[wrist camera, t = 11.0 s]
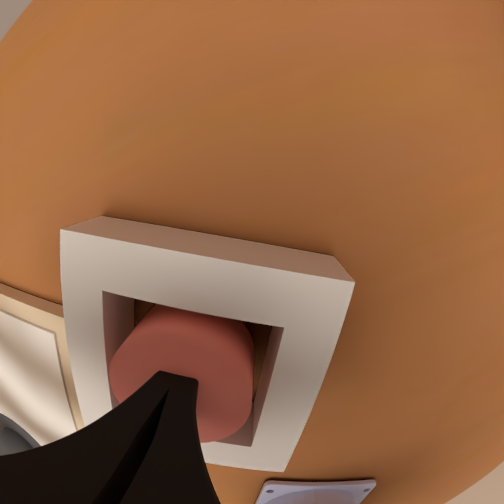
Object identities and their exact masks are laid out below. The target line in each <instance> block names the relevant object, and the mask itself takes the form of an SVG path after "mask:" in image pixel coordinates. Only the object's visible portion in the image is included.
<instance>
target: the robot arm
mask: <svg viewBox="0 0 504 504" xmlns="http://www.w3.org/2000/svg"><path fill="white" fill-rule="evenodd" d="M198 385H199V382H198V380H197V379H196V378H191V377H186V376H182V375H177V374H173V373H169V372H165V371H161V370H159V371H158V372H156V373H155V374H154V375H153V376H152V377H151V378H150V379H149V380H148V381H147V382H145V383H144V384H143V385H142V386H141V387H140V388H139V389H138V390H136V391H135V392H134V393H133V394H132V395H130V396H129V397H128V398H127V399H125V400H124V401H123V402H122V403H120V404H119V405H118V406H116V407H115V408H113V409H112V410H111V411H109V412H108V413H106V414H105V415H103V416H102V417H100V418H99V419H97V420H96V421H94V422H92V423H91V424H89V425H87V426H86V427H84V428H82V429H80V430H78V431H76V432H74V433H72V434H70V435H68V436H65V437H63V438H61V439H59V440H56V441H54V442H51V443H49V444H46V445H43V446H39V447H36V448H33V449H29V450H26V451H22V452H18V453H14V454H8V455H1V456H0V504H221V503H220V501H219V499H218V497H217V495H216V492H215V490H214V487H213V485H212V482H211V479H210V476H209V474H208V470H207V467H206V464H205V460H204V457H203V453H202V449H201V444H200V439H199V433H198V426H197V417H196V405H197V395H198ZM375 486H376V481H375V480H359V481H342V482H291V481H274V480H271V481H267V482H265V483H264V485H263V487H262V489H261V491H260V494H259V496H258V498H257V500H256V502H255V504H360V503H361V502H362V500H363V499H364V498H365V497H366V496H367V495H368V494H369V493H370V492H371V491H372V489H373V488H374V487H375Z"/></svg>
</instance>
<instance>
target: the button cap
mask: <svg viewBox="0 0 504 504" xmlns="http://www.w3.org/2000/svg"><path fill="white" fill-rule="evenodd" d="M254 358H255V350H254V344H253V340H252V337H251V335H250V333H249V331H248V329H247V328H246V326H245V325H244V323H243V322H242V321H241V320H236V319H230V318H225V317H219V316H214V315H209V314H204V313H199V312H194V311H189V310H184V309H179V308H175V307H170V306H165V305H161V304H156V305H155V306H154V307H152V308H151V309H150V310H149V311H148V312H147V313H146V315H145V316H144V317H143V318H142V320H141V321H140V322H139V323H138V325H137V326H136V327H135V328H134V330H133V331H132V332H131V334H130V335H129V336H128V337H127V339H126V340H125V341H124V343H123V344H122V345H121V346H120V348H119V349H118V350H117V352H116V353H115V355H114V356H113V358H112V361H111V364H110V370H109V378H110V384H111V387H112V390H113V393H114V395H115V397H116V399H117V400H118V402H119V403H122V402H123V401H124V400H125V399H127V398H128V397H129V396H130V395H132V394H133V393H134V392H135V391H136V390H138V389H139V388H140V387H141V386H142V385H143V384H144V383H145V382H147V381H148V380H149V379H150V378H151V377H152V376H153V375H154V374H155V373H156V372H158V371H159V370H161V371H165V372H169V373H173V374H177V375H182V376H186V377H191V378H196V379H197V380H198V382H199V385H198V395H197V405H196V417H197V426H198V433H199V439H200V443H207V442H213V441H218V440H221V439H224V438H226V437H228V436H230V435H232V434H234V433H235V432H237V431H238V430H239V429H240V428H241V427H242V426H243V425H244V424H245V422H246V421H247V419H248V417H249V414H250V412H251V406H252V392H253V375H254Z"/></svg>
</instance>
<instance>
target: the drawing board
mask: <svg viewBox="0 0 504 504" xmlns="http://www.w3.org/2000/svg"><path fill="white" fill-rule="evenodd" d="M4 427H8V428H11V429H12V430H14V431H16V432H17V433H18V434H20V435H21V436H22V437H23V438H24V439H25V440H26V441H27V442H28V443H29V444H30V445H31V446H32V447H33V448H36V447H39V446H43V445H46V444H49V443H51V442H54V441H56V440H59V439H61V438H63V437H65V436H68V435H70V434H72V433H74V432H76V431H78V430H80V429H82V428H84V427H85V426H84V422H83V418H82V414H81V411H80V407H79V402H78V398H77V394H76V389H75V385H74V380H73V375H72V370H71V364H70V358H69V352H68V346H67V339H66V331H65V323H64V313H63V306H62V305H59V304H56V303H53V302H50V301H47V300H44V299H41V298H38V297H36V296H33V295H30V294H27V293H25V292H22V291H20V290H17V289H14V288H12V287H9V286H7V285H4V284H2V283H0V432H1V431H2V429H3V428H4Z"/></svg>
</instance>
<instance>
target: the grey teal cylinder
mask: <svg viewBox="0 0 504 504" xmlns="http://www.w3.org/2000/svg"><path fill="white" fill-rule="evenodd" d="M29 449H33V447H32V446H31V445H30V444H29V443H28V442H27V441H26V440H25V439H24V438H23V437H22V436H21V435H20V434H18V433H17V432H16V431H14V430H12V429H11V428H8V427H4V428H3V429H2V431H1V432H0V456H1V455H8V454H14V453H18V452H22V451H26V450H29Z"/></svg>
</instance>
